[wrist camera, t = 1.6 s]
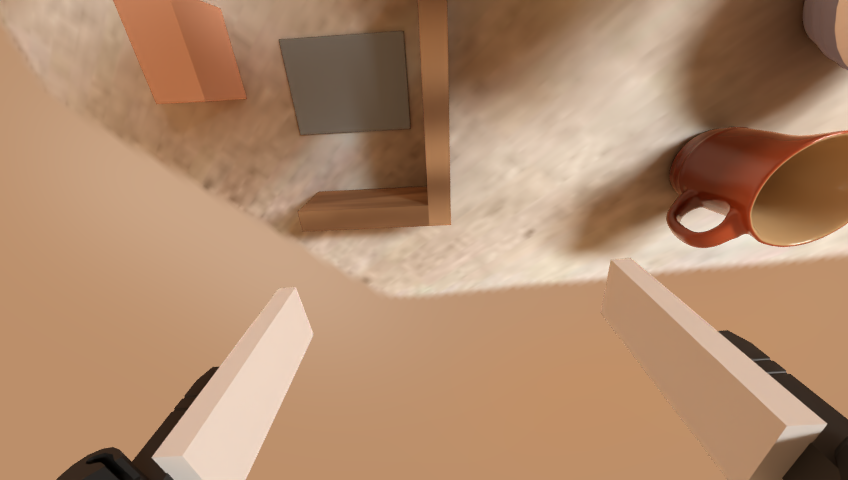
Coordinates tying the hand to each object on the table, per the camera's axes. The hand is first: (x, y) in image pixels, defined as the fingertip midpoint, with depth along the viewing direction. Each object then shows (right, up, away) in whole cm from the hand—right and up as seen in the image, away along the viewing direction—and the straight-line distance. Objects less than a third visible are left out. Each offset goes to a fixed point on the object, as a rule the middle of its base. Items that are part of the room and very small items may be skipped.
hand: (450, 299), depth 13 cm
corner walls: (-6, +15, +16) cm, 23 cm away
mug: (+26, +10, +19) cm, 34 cm away
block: (-20, +19, +14) cm, 32 cm away
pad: (-8, +17, +15) cm, 24 cm away
